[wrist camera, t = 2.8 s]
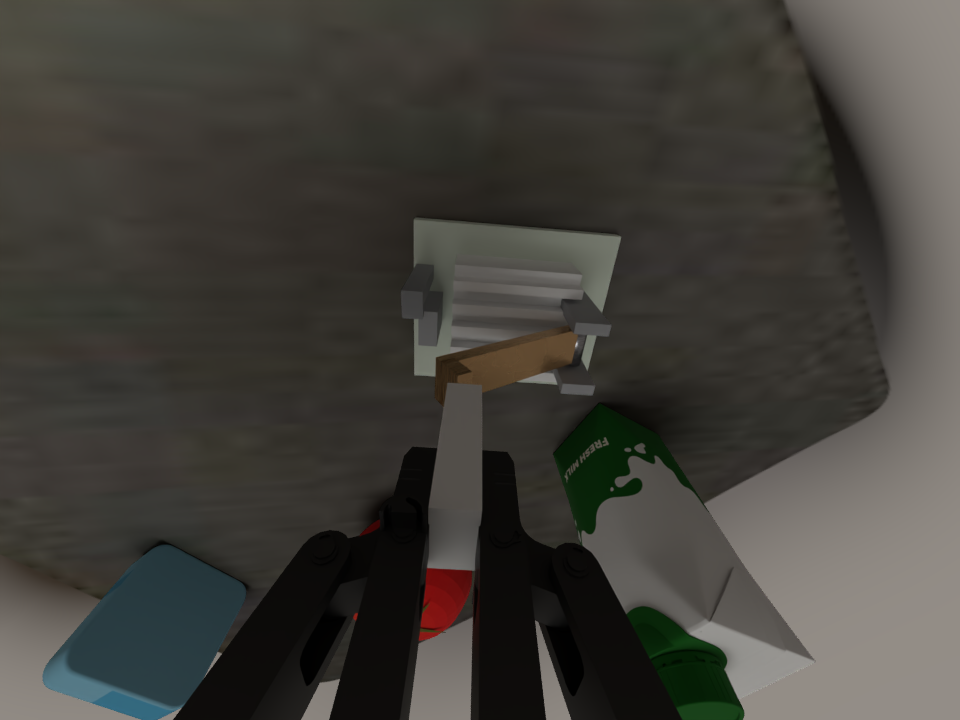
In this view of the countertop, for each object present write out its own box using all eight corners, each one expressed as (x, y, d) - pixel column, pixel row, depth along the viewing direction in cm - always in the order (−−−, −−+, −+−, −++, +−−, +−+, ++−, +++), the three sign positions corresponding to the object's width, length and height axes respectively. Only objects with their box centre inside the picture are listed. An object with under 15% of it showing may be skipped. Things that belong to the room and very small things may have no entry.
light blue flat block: (140, 554, 43) (29, 683, 32) (160, 538, 41) (51, 667, 31) (231, 600, 47) (160, 727, 37) (252, 586, 46) (185, 714, 35)
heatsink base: (416, 368, 31) (398, 430, 24) (415, 217, 25) (391, 239, 18) (580, 380, 32) (609, 443, 25) (616, 234, 26) (667, 262, 19)
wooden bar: (432, 399, 19) (455, 421, 18) (433, 352, 18) (457, 372, 17) (570, 356, 25) (596, 370, 24) (579, 318, 24) (606, 330, 22)
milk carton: (597, 390, 32) (740, 668, 15) (673, 431, 34) (877, 716, 17) (539, 456, 36) (598, 743, 18) (611, 490, 38) (726, 774, 20)
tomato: (482, 549, 43) (484, 658, 33) (382, 565, 44) (357, 674, 35) (456, 480, 37) (449, 586, 28) (343, 501, 39) (301, 608, 29)
